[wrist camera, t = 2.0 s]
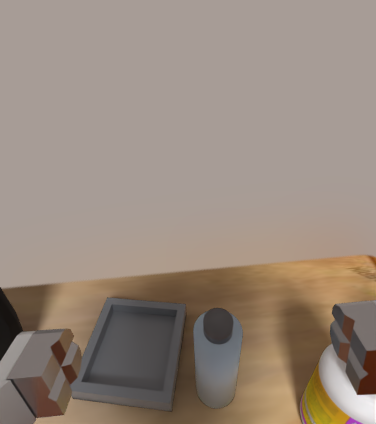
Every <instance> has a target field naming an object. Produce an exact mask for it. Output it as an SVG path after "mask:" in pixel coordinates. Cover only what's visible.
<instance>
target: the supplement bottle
mask: <svg viewBox="0 0 376 424" xmlns="http://www.w3.org/2000/svg"><path fill="white" fill-rule="evenodd" d="M345 370H346V363H345V362H344V361H342V360H341V359H340V358H338V356H337V354H336V352H335V350H334V347H333V344H330V345H329V346H328V347H327V348H326V349H325V350H324V352H323V353H322V355H321V357H320V359H319V362H318V364H317V366H316V368H315V370H314V372H313V374H312V376H311V378H310V380H309V383H308V385H307V387H306V389H305V391H304V393H303V395H302V398H301V402H300V415H301V420H302V423H303V424H376V394H374V395H357V394H356V392H355V390H354V388H353V386H352V384H351V382H350V380H349V378H348V376H347V374H346V372H345Z"/></svg>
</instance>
